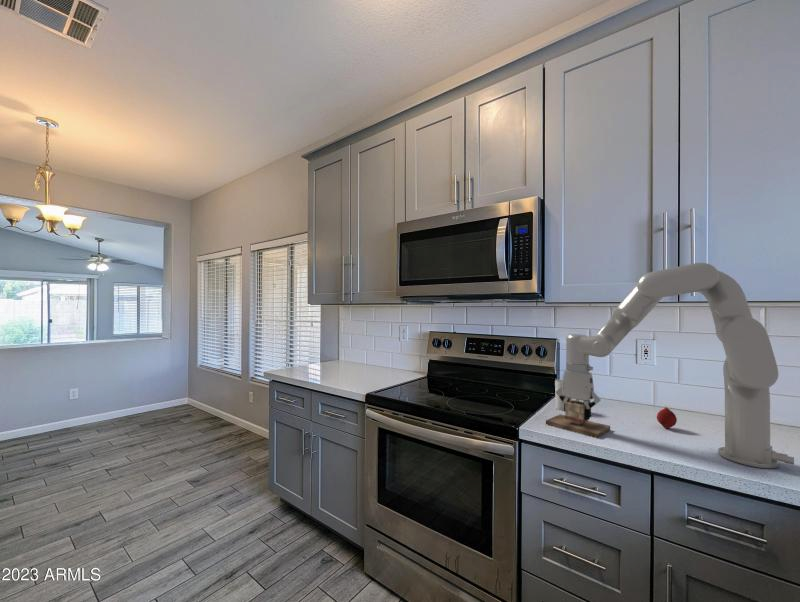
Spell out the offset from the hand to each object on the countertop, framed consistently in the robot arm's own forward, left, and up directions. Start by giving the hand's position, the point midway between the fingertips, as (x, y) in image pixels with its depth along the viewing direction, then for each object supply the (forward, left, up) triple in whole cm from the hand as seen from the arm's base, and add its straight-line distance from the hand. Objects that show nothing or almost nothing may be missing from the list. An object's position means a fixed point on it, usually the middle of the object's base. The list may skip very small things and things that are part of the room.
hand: (577, 416), depth 130 cm
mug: (+12, -20, -4) cm, 24 cm away
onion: (-22, -24, -4) cm, 33 cm away
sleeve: (0, 0, -1) cm, 1 cm away
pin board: (0, 0, -4) cm, 4 cm away
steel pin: (0, 0, -3) cm, 3 cm away
